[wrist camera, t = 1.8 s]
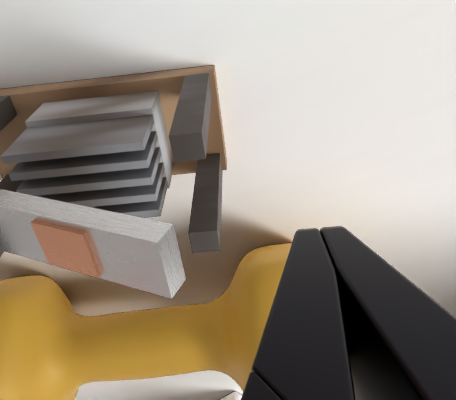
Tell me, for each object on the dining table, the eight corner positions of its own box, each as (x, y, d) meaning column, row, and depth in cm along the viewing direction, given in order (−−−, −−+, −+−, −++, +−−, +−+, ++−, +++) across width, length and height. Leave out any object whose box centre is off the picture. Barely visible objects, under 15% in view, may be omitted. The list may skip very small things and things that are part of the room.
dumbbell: (37, 349, 29) (-21, 482, 23) (-26, 247, 25) (-124, 377, 18) (319, 321, 28) (349, 454, 21) (313, 205, 23) (349, 330, 16)
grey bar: (179, 217, 12) (150, 250, 11) (191, 272, 13) (165, 306, 12) (-55, 172, 16) (-92, 192, 15) (-31, 216, 17) (-64, 238, 16)
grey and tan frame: (214, 65, 19) (206, 146, 12) (226, 159, 21) (225, 269, 15) (-23, 91, 19) (-150, 182, 13) (16, 180, 22) (-74, 293, 15)
